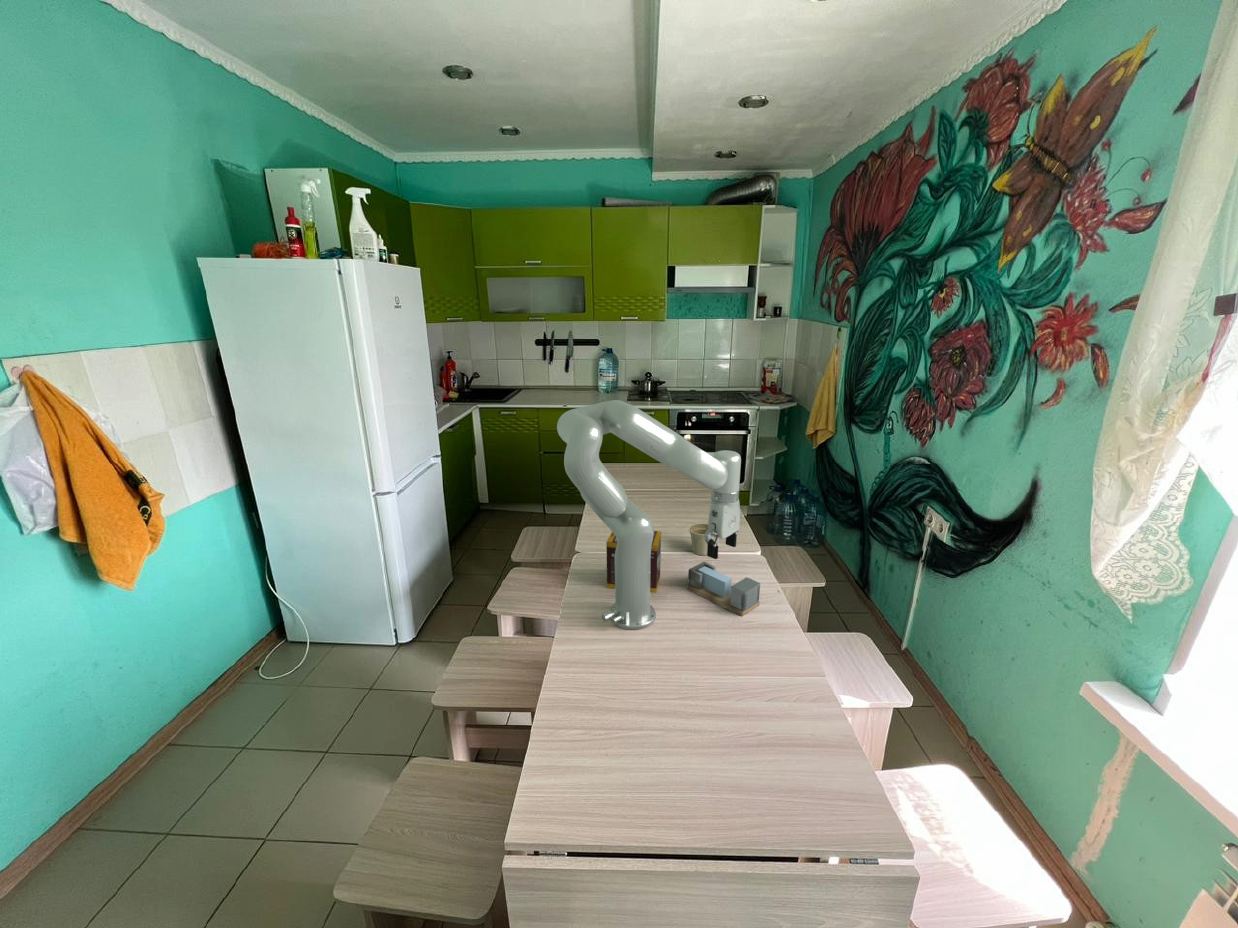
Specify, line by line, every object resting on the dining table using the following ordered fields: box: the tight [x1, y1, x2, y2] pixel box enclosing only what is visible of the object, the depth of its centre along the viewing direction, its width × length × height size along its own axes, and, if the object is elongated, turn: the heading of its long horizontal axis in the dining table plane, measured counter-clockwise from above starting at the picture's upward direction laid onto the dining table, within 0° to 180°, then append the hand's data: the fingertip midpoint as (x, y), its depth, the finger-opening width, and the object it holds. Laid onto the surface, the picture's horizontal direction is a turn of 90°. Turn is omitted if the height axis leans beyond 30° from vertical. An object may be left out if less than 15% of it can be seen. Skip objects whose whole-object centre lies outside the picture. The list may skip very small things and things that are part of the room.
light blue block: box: [698, 566, 733, 598], centre depth 153 cm, size 10×3×5 cm, turn 42°
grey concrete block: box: [730, 577, 761, 611], centre depth 145 cm, size 4×7×6 cm, turn 132°
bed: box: [686, 561, 760, 617], centre depth 151 cm, size 20×8×6 cm, turn 42°
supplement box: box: [605, 530, 662, 594], centre depth 158 cm, size 10×15×16 cm
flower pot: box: [688, 522, 716, 556], centre depth 178 cm, size 9×9×9 cm
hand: (721, 551), depth 148 cm, fingers open, 9 cm apart
